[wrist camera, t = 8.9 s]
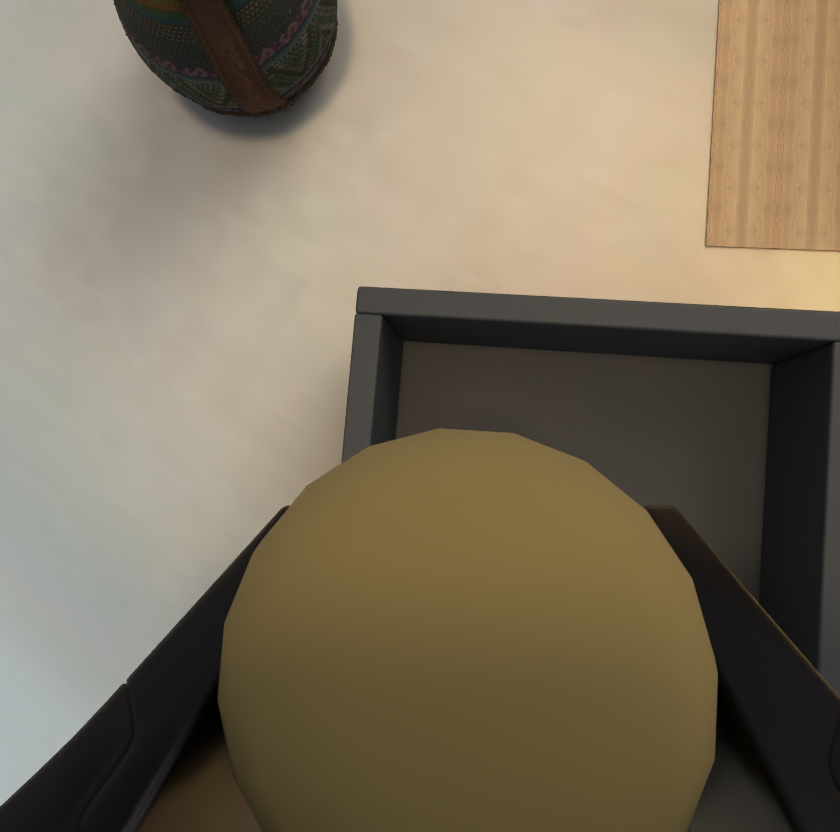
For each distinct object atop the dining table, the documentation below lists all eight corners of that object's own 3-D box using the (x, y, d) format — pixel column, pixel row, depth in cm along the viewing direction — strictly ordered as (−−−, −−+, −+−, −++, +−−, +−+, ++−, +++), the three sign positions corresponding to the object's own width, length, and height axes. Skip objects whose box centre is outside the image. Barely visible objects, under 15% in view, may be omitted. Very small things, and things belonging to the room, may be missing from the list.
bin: (767, 799, 22) (841, 893, 17) (348, 740, 23) (309, 811, 19) (791, 344, 22) (867, 312, 18) (385, 320, 24) (357, 285, 19)
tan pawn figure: (598, 425, 17) (775, 332, 6) (626, 680, 16) (883, 1119, 5) (355, 447, 17) (101, 404, 6) (374, 693, 17) (130, 1101, 6)
